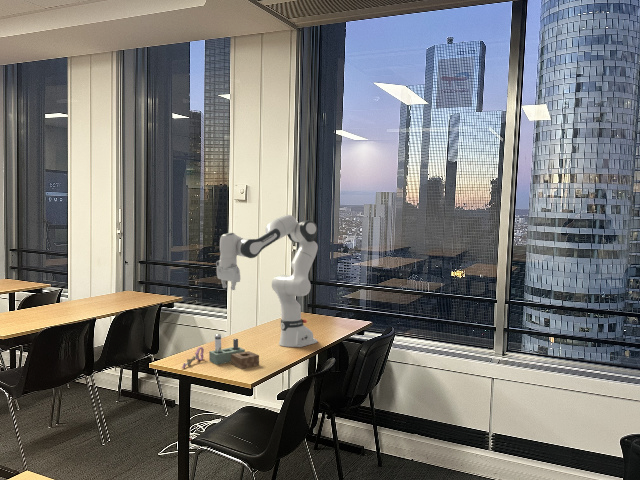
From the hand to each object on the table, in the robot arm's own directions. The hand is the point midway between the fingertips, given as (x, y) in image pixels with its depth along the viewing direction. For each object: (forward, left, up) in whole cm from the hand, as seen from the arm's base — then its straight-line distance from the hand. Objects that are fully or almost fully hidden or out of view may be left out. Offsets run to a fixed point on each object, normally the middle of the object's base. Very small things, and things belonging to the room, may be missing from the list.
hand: (228, 288), depth 292 cm
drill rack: (+9, +14, -34) cm, 38 cm away
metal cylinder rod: (+14, +14, -34) cm, 39 cm away
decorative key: (+26, +9, -35) cm, 44 cm away
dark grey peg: (+4, +14, -34) cm, 37 cm away
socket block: (+6, +27, -34) cm, 44 cm away
